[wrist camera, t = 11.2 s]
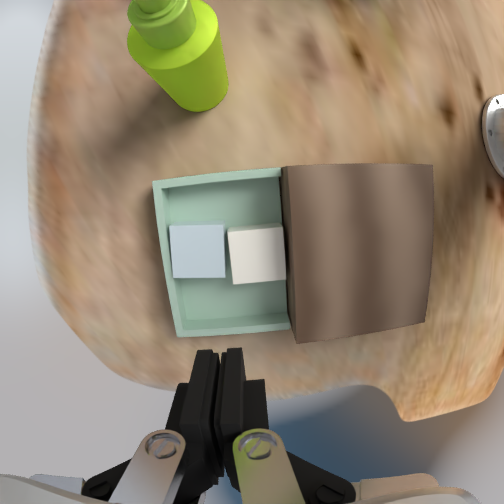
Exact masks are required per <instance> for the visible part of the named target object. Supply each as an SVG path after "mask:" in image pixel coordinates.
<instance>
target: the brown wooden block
mask: <svg viewBox="0 0 504 504" xmlns="http://www.w3.org/2000/svg"><path fill="white" fill-rule="evenodd" d="M280 185H281V198H282V212H283V227H284V242H285V259H286V276H287V296H288V316H289V320H290V323H291V326H292V330H293V333H294V336H295V340H296V343H297V344H300V343H308V342H315V341H323V340H330V339H337V338H343V337H350V336H356V335H362V334H368V333H373V332H379V331H384V330H389V329H394V328H399V327H404V326H409V325H414V324H418V323H423V322H425V316H426V309H427V302H428V294H429V285H430V276H431V264H432V250H433V229H434V183H433V165H423V164H321V165H299V166H286V167H282V168H281V176H280Z"/></svg>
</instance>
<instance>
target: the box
mask: <svg viewBox="0 0 504 504" xmlns="http://www.w3.org/2000/svg"><path fill="white" fill-rule="evenodd" d="M278 176H281V167H280V168H265V169H253V170H241V171H231V172H221V173H211V174H203V175H194V176H186V177H179V178H171V179H164V180H157V181H152V185H153V194H154V202H155V211H156V219H157V226H158V233H159V240H160V247H161V253H162V260H163V266H164V272H165V278H166V283H167V289H168V294H169V299H170V305H171V310H172V315H173V320H174V324H175V329H176V334H177V337H197V336H215V335H230V334H244V333H256V332H267V331H277V330H287V329H290V320H289V317H288V314H287V301H286V281H285V280H275V281H265V282H255V283H244V284H233V277H232V268H231V259H230V251H229V242H228V233H227V232H228V229H229V227H236V226H246V225H257V224H268V223H280V224H281V225H282V217H281V203H280V190H279V177H278ZM211 220H225V227H226V258H227V271H226V276H225V278H173V270H172V258H171V245H170V230H169V226H170V225H172V224H173V223H175V222H179V221H211Z"/></svg>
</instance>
